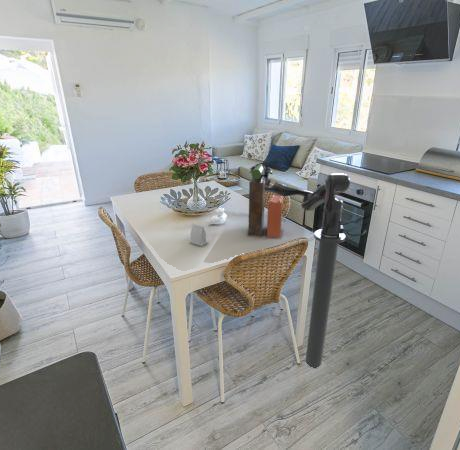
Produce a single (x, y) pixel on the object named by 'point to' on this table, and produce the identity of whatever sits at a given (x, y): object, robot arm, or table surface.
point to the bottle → (257, 172)
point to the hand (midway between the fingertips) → (259, 165)
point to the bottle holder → (274, 216)
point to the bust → (218, 217)
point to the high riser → (256, 206)
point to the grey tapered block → (198, 235)
